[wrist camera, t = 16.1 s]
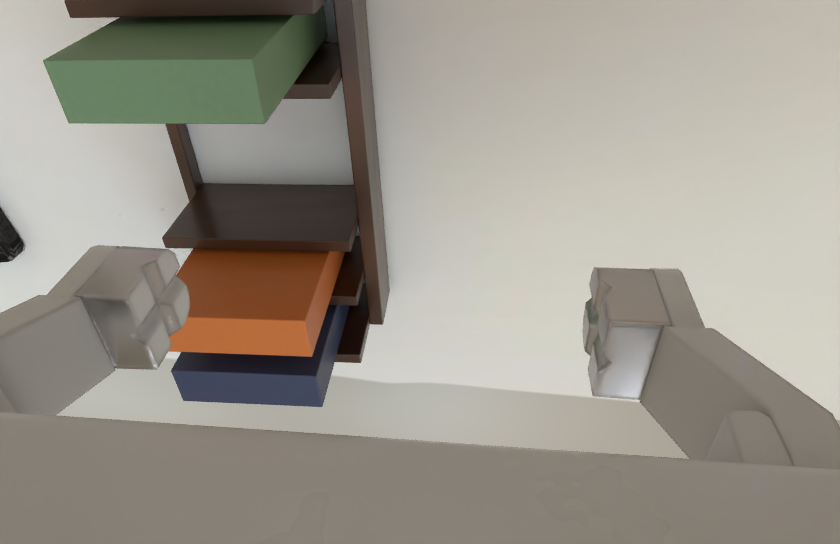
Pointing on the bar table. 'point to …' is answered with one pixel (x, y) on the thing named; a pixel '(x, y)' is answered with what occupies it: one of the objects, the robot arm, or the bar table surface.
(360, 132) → the book rack
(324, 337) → the navy book
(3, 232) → the phone
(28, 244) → the bar table surface
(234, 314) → the orange book
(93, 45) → the green book
